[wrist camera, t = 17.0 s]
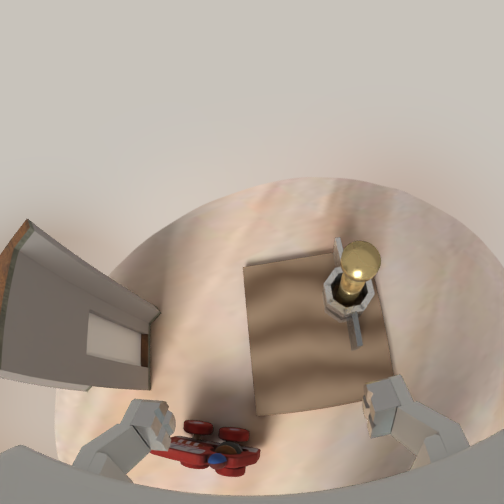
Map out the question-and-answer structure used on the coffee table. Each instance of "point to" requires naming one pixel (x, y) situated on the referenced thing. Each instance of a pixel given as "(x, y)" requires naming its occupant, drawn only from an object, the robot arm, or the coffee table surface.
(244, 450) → the toy fire truck
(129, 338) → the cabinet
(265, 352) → the walnut board
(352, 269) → the hinge pin
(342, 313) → the hinge
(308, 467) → the coffee table surface
